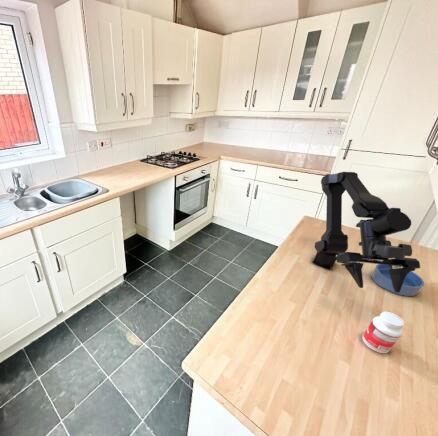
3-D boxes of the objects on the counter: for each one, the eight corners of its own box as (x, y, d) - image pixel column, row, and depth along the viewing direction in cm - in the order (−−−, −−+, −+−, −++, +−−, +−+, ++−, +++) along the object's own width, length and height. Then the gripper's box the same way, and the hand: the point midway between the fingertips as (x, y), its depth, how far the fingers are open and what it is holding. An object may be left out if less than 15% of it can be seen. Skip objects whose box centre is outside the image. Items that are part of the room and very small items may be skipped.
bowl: (368, 283, 92) (373, 274, 90) (373, 267, 100) (378, 258, 98) (416, 303, 84) (423, 293, 81) (418, 283, 91) (424, 274, 89)
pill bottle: (368, 331, 74) (384, 306, 69) (393, 348, 69) (413, 322, 64) (357, 339, 72) (373, 314, 67) (381, 357, 67) (401, 332, 62)
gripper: (356, 229, 69) (361, 285, 65) (434, 235, 66) (444, 295, 62) (333, 237, 80) (337, 285, 76) (400, 243, 76) (407, 294, 72)
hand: (379, 290), depth 71 cm, fingers open, 9 cm apart
